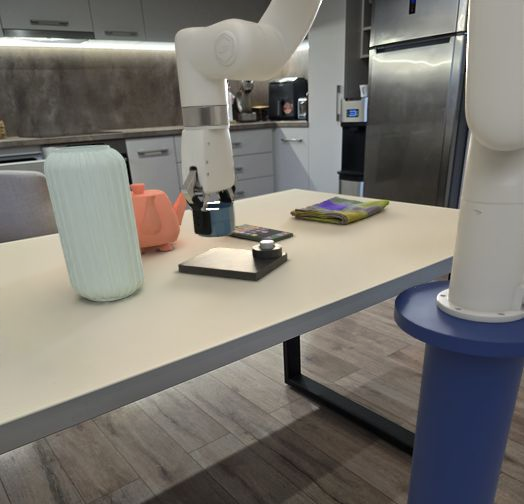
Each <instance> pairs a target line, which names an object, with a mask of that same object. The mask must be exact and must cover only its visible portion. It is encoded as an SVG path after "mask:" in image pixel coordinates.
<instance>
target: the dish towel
mask: <svg viewBox="0 0 524 504" xmlns="http://www.w3.org/2000/svg"><path fill="white" fill-rule="evenodd" d="M389 204H390V200H389V199H379V200H372V201H360V200H356V199H347V198H344V197H339V196H334V197H331V198H328V199H326V200H324V201H322V202H319V203H313V204H312V205H309V206H306V207H301V208H295V209H293V210H291V211H290V215H291V216H292V217H294V218H295V219H301V220H310V221H311V220H312V221H318V222H323V223H331V224H337V225H347V224H350V223H352V222H356V221H359V220H361V219H365V218H368V217H370V216H373V215H375V214H376V213H379V212H381V211H382V210H384V209H385V208H386V207H388V206H389Z"/></svg>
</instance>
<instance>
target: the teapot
mask: <svg viewBox="0 0 524 504" xmlns="http://www.w3.org/2000/svg"><path fill="white" fill-rule="evenodd" d="M129 186H130V192H131V198H132V204H133V210H134V216H135V222H136V229H137V235H138V241H139V247H140V253H141V255H143V248H151V247H156V246H157V248H158V249H159V251H161V252H167V251H171V250H173V247H172V246H171V245H170V244H171V243H174V242H176V241H177V240H178V238H179V236H180V232H181V227H180V226H182V222H183V218H184V215H185V211H186V208H187V205H188V203H187V202H186V199H185V197H184V195H183V194H182V192H181V191H179V195H178V197H176V200H175V202H174V204H172V202H171V200H170V198H169V196H168V195H167V193H166V192H165V191H163V190H161V189H156V188H155V189H146V184H145V183H144V182H143V183H141V182H140V183H139V182H138V183H131V184H129Z"/></svg>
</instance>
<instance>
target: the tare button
mask: <svg viewBox="0 0 524 504" xmlns="http://www.w3.org/2000/svg"><path fill="white" fill-rule="evenodd" d="M274 243H275V242H274V241H272V240H262V241H259V244H260V249H271V248H274Z"/></svg>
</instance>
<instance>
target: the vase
mask: <svg viewBox="0 0 524 504" xmlns="http://www.w3.org/2000/svg"><path fill="white" fill-rule="evenodd" d="M43 172H44V173H43V174H44V178H45V182H46V186H47V190H48V194H49V198H50V199H49V200H50V203H51V206H52V212H53V216H54V220H55V224H56V228H57V231H58V237H59V241H60V245H61V249H62V254H63V258H64V262H65V266H66V271H67V275H68V279H69V283H70V286H71V288H72V289H73V291H75V293H76V294H77V295H79V296H81V297H83V298H85V299H87V300H89V301H91V302H100V303H102V302H112V301H118V300H122V299H125V298H127V297H130V296H131V295H133V294H134V293H135V292H136V290H138V289H139V288H140V287H141V285H142V283H143V281H144V278H145V273H144V265H143V260H142V254H141V253H140V247H139V241H138V235H137V229H136V222H135V216H134V210H133V204H132V198H131V192H130V191H131V187H130V182H129V181H130V180H129V179H130V178H129V174H128V168H127V163H126V160H125V158H124V156H123V155H122V154H121V153H120V152H119V151H118V150H116V149H115V148H112V147H111V146H110V144H109V145H108V144H95V145H78V146H77V145H76V146H66V147H58V148H57V147H56V148H54V149H53V151H52V152H50V153H49V154H48V155H47V156H46V158H45V160H44V162H43Z"/></svg>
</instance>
